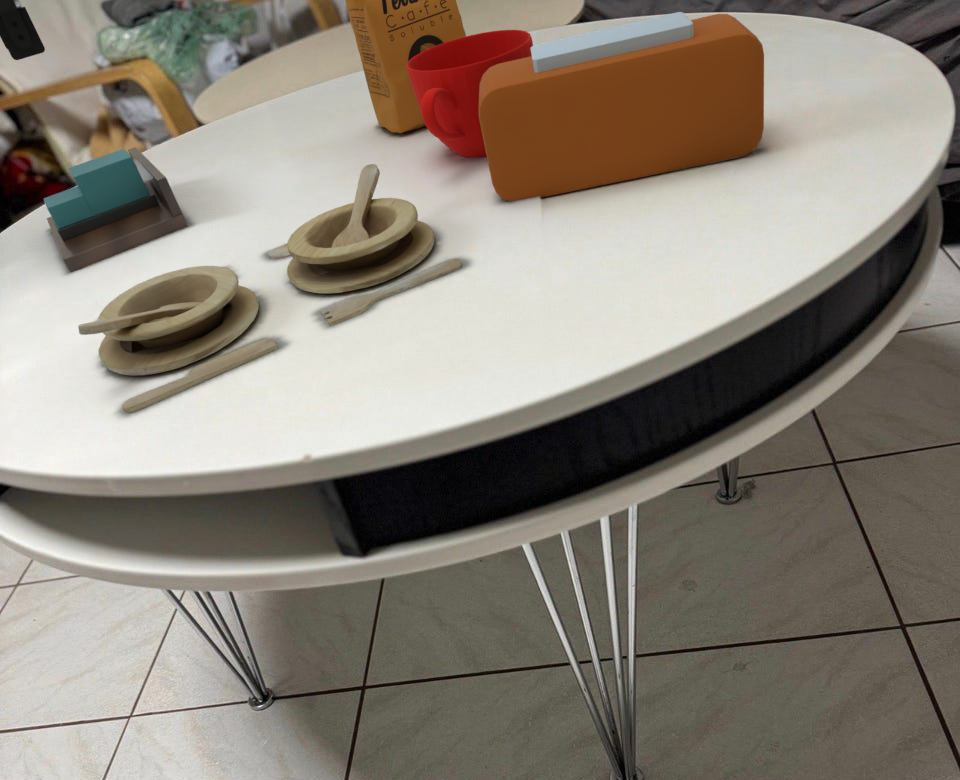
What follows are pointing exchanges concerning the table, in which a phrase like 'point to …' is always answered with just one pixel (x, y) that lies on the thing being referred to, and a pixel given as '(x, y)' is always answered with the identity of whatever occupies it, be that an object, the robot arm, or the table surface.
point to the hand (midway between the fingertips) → (26, 50)
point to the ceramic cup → (461, 84)
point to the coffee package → (399, 50)
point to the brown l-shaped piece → (125, 223)
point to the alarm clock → (622, 105)
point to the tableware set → (232, 308)
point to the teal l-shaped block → (100, 195)
